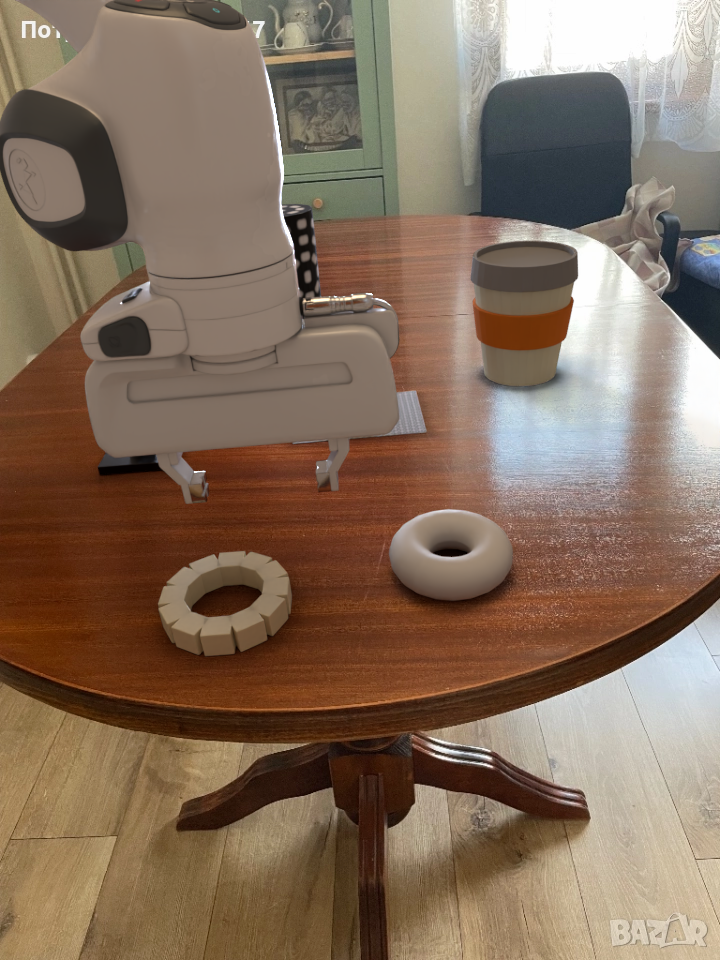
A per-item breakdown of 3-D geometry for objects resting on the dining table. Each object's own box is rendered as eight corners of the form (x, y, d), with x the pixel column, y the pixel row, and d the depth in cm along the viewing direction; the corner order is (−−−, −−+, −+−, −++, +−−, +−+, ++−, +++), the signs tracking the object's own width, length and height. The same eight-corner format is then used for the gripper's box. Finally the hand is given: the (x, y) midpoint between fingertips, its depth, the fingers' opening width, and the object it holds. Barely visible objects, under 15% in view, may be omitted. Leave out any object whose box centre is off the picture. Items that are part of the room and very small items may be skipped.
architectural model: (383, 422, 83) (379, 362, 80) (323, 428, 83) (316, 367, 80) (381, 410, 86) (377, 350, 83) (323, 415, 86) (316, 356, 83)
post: (99, 475, 78) (59, 342, 70) (118, 440, 85) (84, 315, 77) (173, 469, 78) (141, 335, 70) (186, 434, 85) (158, 309, 77)
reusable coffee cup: (452, 365, 96) (451, 250, 89) (534, 347, 100) (540, 235, 92) (501, 400, 86) (505, 274, 78) (591, 378, 89) (603, 255, 82)
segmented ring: (152, 660, 53) (145, 640, 52) (177, 574, 62) (172, 556, 61) (287, 650, 53) (284, 630, 52) (294, 566, 62) (291, 547, 61)
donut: (522, 545, 62) (411, 525, 65) (525, 511, 60) (410, 493, 64) (497, 622, 54) (372, 595, 58) (499, 586, 52) (370, 561, 56)
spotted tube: (256, 361, 103) (233, 214, 93) (300, 343, 108) (283, 201, 98) (295, 374, 98) (275, 220, 87) (339, 355, 103) (325, 207, 92)
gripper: (393, 276, 48) (404, 459, 55) (84, 304, 48) (135, 482, 55) (400, 305, 42) (411, 504, 49) (52, 337, 42) (113, 530, 50)
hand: (263, 493), depth 52 cm, fingers open, 8 cm apart
